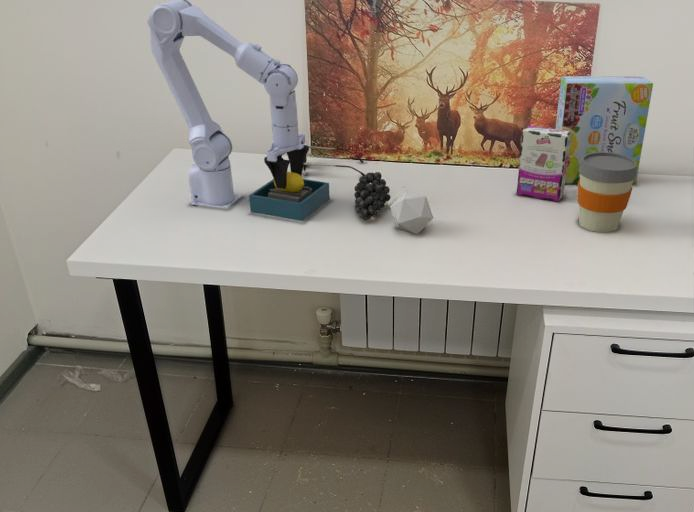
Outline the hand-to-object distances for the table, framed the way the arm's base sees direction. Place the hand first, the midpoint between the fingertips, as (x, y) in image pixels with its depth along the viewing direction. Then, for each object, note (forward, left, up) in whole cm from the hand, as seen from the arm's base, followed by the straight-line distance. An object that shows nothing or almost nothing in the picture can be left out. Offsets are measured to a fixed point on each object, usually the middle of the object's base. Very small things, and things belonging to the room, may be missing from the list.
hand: (289, 182), depth 170 cm
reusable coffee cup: (+71, +11, -6) cm, 73 cm away
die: (+30, -4, -6) cm, 31 cm away
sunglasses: (+1, +27, -6) cm, 28 cm away
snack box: (+69, +41, -6) cm, 80 cm away
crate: (0, 0, -6) cm, 6 cm away
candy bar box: (+56, +25, -6) cm, 62 cm away
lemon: (0, 0, -2) cm, 2 cm away
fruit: (+18, +2, -6) cm, 20 cm away
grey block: (0, 0, -6) cm, 6 cm away
